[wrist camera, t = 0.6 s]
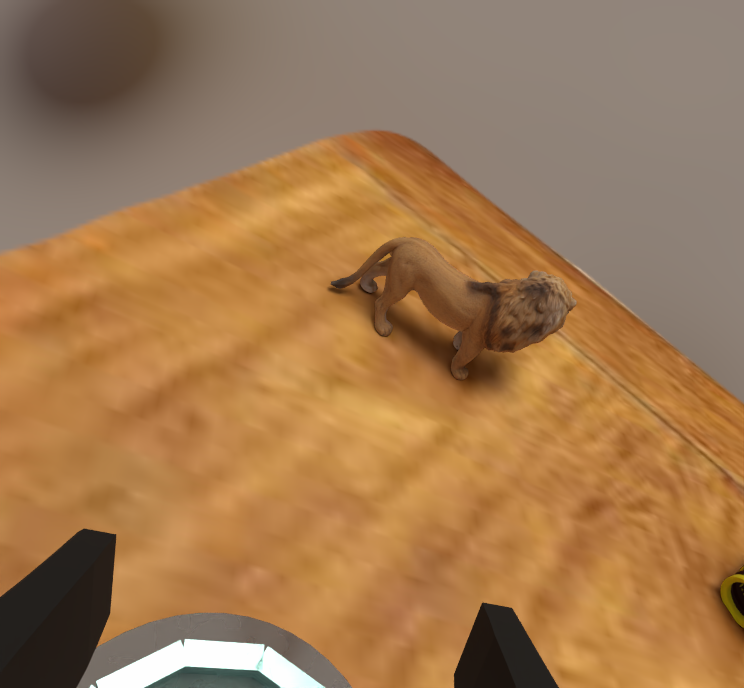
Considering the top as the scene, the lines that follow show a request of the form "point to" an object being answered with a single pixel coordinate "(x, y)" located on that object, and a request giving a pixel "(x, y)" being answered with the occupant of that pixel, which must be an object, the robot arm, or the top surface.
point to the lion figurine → (465, 300)
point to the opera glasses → (734, 595)
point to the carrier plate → (209, 656)
